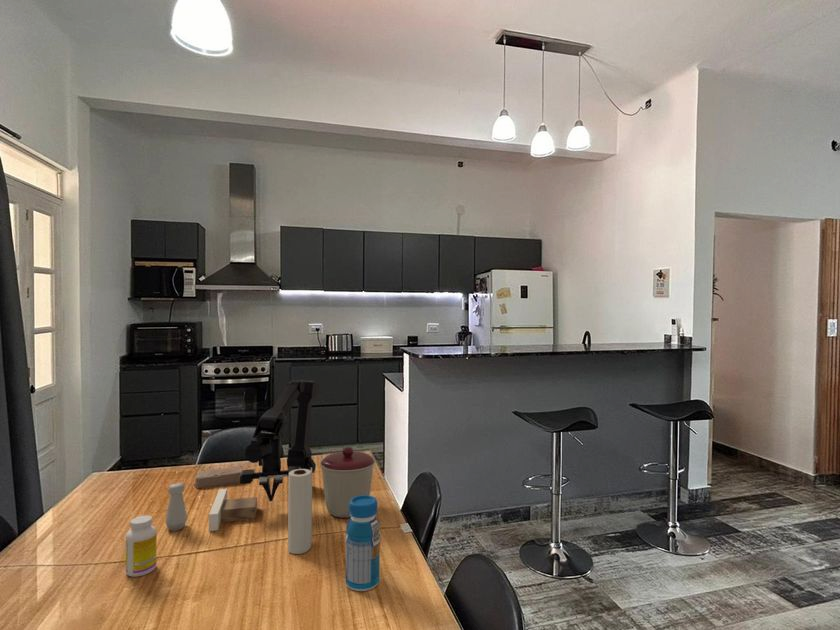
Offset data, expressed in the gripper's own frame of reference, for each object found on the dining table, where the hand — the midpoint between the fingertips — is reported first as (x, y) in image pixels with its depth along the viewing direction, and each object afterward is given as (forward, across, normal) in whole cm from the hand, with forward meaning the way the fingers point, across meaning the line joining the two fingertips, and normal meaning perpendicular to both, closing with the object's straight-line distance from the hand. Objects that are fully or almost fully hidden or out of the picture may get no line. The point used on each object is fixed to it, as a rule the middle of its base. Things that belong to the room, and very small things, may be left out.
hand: (271, 500), depth 151 cm
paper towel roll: (+4, -9, +27) cm, 29 cm away
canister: (+4, -24, +6) cm, 25 cm away
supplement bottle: (+4, +30, +28) cm, 41 cm away
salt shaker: (+4, +27, +5) cm, 28 cm away
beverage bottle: (+4, -23, +47) cm, 52 cm away
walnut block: (+4, +10, 0) cm, 10 cm away
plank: (+3, +16, 0) cm, 16 cm away
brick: (+4, +20, -32) cm, 38 cm away
